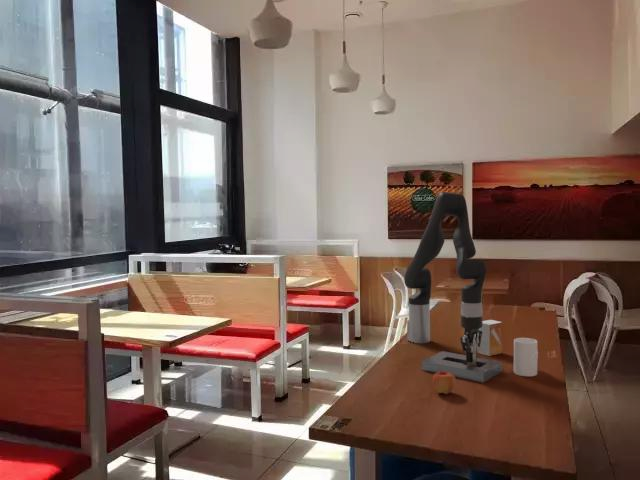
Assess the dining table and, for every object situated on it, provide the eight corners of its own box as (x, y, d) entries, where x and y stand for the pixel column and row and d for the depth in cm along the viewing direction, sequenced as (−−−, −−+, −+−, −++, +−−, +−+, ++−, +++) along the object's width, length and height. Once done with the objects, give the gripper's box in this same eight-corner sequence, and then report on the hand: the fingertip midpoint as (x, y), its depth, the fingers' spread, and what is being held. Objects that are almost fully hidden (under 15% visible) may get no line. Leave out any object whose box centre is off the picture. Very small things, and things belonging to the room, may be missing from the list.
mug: (538, 367, 199) (538, 336, 198) (537, 377, 188) (538, 344, 187) (514, 365, 202) (514, 334, 201) (513, 375, 191) (513, 342, 190)
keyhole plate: (422, 369, 199) (421, 360, 199) (442, 359, 211) (442, 351, 211) (483, 382, 184) (483, 372, 183) (501, 371, 196) (501, 361, 196)
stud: (462, 372, 195) (462, 339, 194) (468, 368, 199) (468, 337, 198) (475, 374, 192) (475, 341, 191) (481, 371, 195) (481, 339, 195)
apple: (451, 398, 170) (451, 374, 169) (429, 394, 174) (429, 370, 173) (458, 391, 176) (458, 367, 175) (437, 387, 180) (437, 364, 179)
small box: (489, 356, 215) (489, 324, 214) (477, 353, 220) (477, 321, 219) (502, 353, 219) (502, 321, 218) (490, 349, 224) (490, 319, 223)
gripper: (470, 309, 201) (470, 354, 203) (453, 316, 191) (453, 363, 192) (489, 312, 197) (489, 358, 198) (472, 318, 186) (472, 367, 187)
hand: (471, 360), depth 195 cm, fingers closed on stud, 3 cm apart
